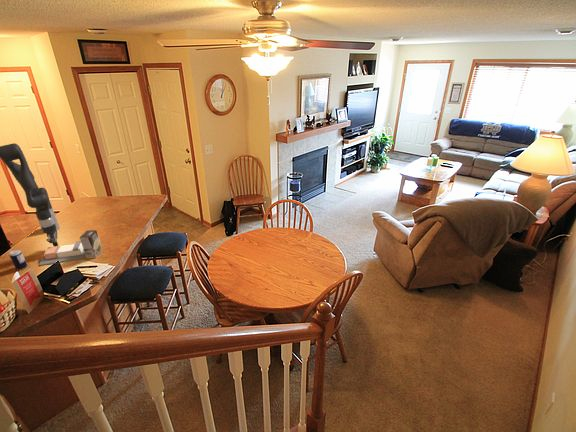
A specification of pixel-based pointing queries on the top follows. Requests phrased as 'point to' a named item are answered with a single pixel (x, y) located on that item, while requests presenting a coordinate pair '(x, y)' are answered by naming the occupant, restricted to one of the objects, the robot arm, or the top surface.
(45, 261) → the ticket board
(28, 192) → the robot arm
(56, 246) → the pink block
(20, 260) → the beverage can
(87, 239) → the coffee box
